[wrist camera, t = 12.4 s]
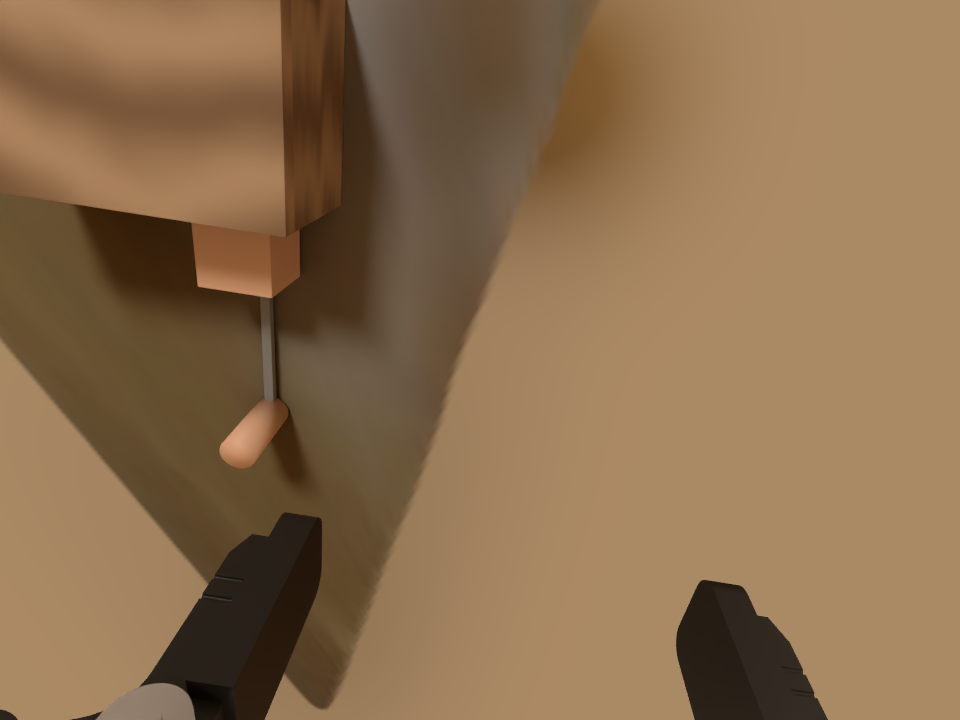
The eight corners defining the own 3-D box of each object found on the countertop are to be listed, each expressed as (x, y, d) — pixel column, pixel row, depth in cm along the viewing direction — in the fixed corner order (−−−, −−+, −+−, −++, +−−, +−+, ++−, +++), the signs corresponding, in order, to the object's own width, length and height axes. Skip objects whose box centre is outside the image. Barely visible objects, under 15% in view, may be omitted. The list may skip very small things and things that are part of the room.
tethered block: (229, 197, 36) (178, 214, 31) (299, 208, 36) (260, 227, 31) (244, 419, 44) (206, 463, 39) (301, 428, 44) (271, 473, 39)
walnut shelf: (11, -57, 31) (-181, -118, 22) (345, -5, 31) (279, -46, 22) (56, 160, 36) (-86, 178, 28) (341, 205, 36) (285, 237, 28)
